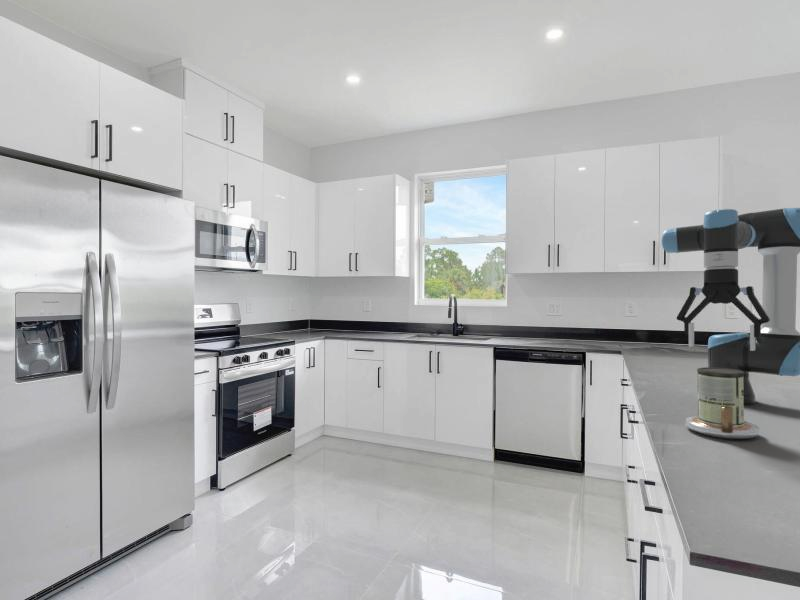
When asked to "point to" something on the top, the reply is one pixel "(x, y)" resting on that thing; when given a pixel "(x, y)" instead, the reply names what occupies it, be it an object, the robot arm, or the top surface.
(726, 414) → the turntable
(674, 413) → the top surface
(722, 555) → the top surface
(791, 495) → the top surface
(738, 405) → the coffee can
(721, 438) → the turntable base
